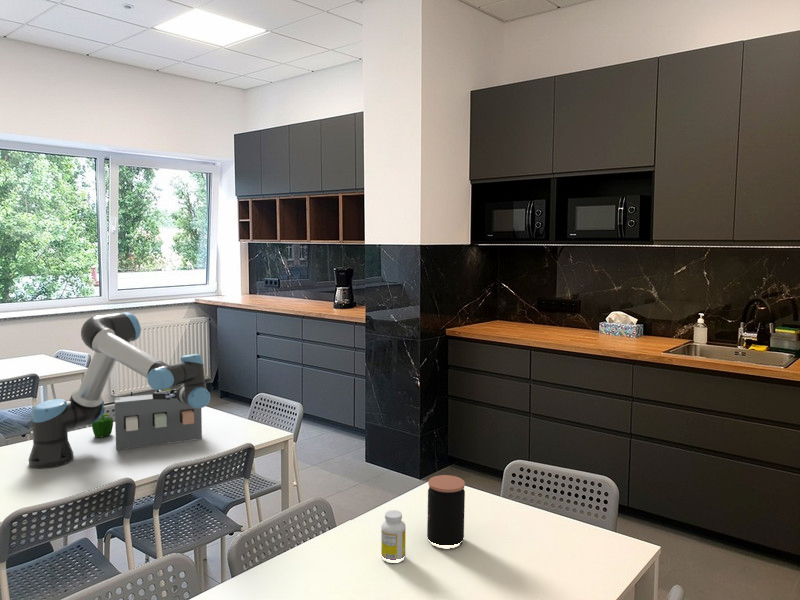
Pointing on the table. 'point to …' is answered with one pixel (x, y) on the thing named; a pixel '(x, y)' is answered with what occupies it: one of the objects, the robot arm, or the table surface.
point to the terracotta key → (187, 416)
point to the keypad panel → (146, 428)
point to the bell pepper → (103, 426)
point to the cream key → (131, 423)
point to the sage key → (160, 420)
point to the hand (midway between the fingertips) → (174, 389)
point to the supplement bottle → (393, 536)
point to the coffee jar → (446, 510)
